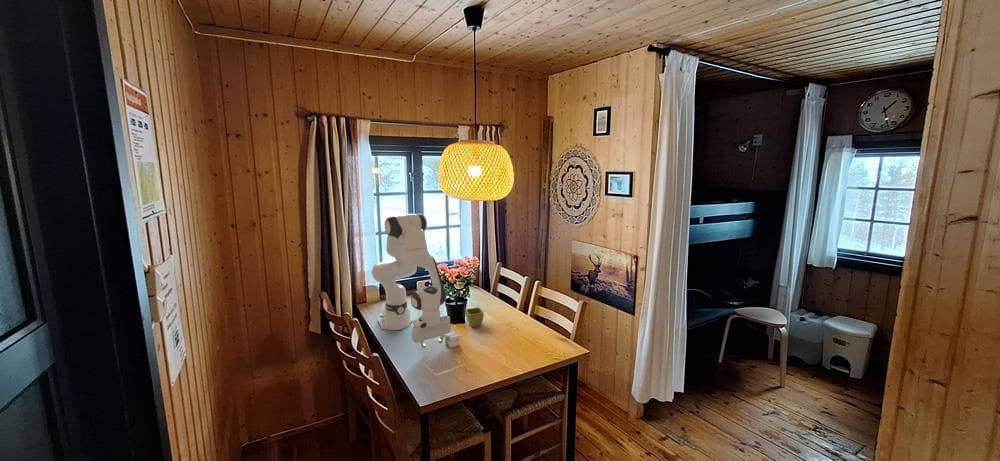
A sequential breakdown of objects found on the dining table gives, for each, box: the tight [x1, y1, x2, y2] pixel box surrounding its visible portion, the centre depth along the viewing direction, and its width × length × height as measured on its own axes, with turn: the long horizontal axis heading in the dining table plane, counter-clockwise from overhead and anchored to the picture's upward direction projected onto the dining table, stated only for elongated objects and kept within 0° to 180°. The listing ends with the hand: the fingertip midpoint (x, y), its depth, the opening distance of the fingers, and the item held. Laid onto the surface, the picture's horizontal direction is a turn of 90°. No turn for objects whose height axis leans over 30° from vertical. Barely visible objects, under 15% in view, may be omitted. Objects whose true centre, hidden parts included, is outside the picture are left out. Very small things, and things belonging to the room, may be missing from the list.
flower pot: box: [464, 306, 485, 328], centre depth 228 cm, size 9×9×9 cm
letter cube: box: [444, 331, 461, 349], centre depth 204 cm, size 6×6×6 cm
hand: (432, 345), depth 197 cm, fingers open, 8 cm apart
